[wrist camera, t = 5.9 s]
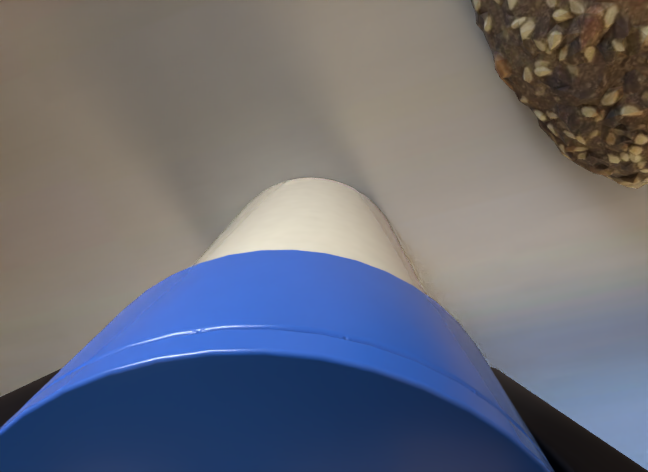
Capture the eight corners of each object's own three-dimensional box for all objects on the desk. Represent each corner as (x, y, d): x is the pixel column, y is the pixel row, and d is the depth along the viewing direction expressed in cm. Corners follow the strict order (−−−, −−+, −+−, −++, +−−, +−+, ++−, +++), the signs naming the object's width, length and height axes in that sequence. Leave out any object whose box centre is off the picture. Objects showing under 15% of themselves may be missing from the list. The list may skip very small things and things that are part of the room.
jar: (415, 317, 16) (573, 705, 6) (257, 356, 17) (132, 774, 6) (374, 155, 14) (490, 274, 4) (201, 204, 15) (-99, 422, 5)
